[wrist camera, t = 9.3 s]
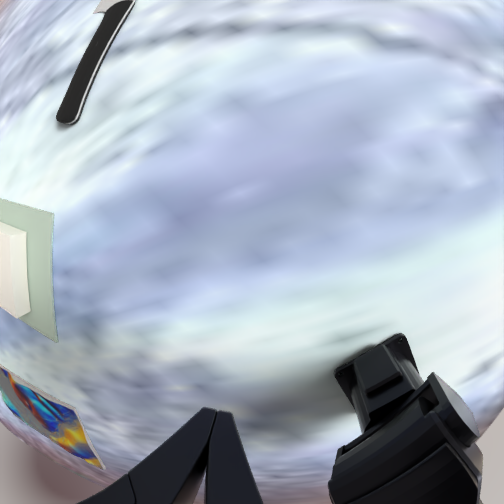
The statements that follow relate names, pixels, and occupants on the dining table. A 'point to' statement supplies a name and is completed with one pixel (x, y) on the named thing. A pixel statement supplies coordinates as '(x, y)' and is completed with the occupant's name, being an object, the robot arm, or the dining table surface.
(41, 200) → the dining table surface
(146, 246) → the dining table surface
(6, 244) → the standing glazed tile
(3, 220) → the sage rubber mat
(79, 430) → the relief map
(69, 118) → the kitchen cleaver
